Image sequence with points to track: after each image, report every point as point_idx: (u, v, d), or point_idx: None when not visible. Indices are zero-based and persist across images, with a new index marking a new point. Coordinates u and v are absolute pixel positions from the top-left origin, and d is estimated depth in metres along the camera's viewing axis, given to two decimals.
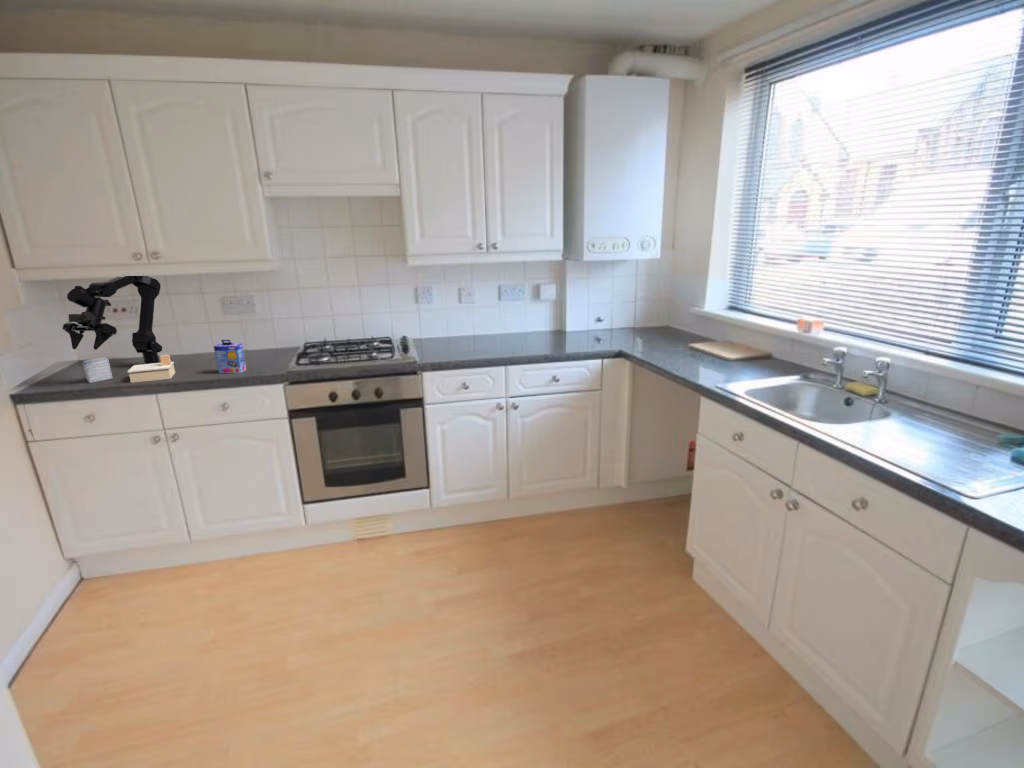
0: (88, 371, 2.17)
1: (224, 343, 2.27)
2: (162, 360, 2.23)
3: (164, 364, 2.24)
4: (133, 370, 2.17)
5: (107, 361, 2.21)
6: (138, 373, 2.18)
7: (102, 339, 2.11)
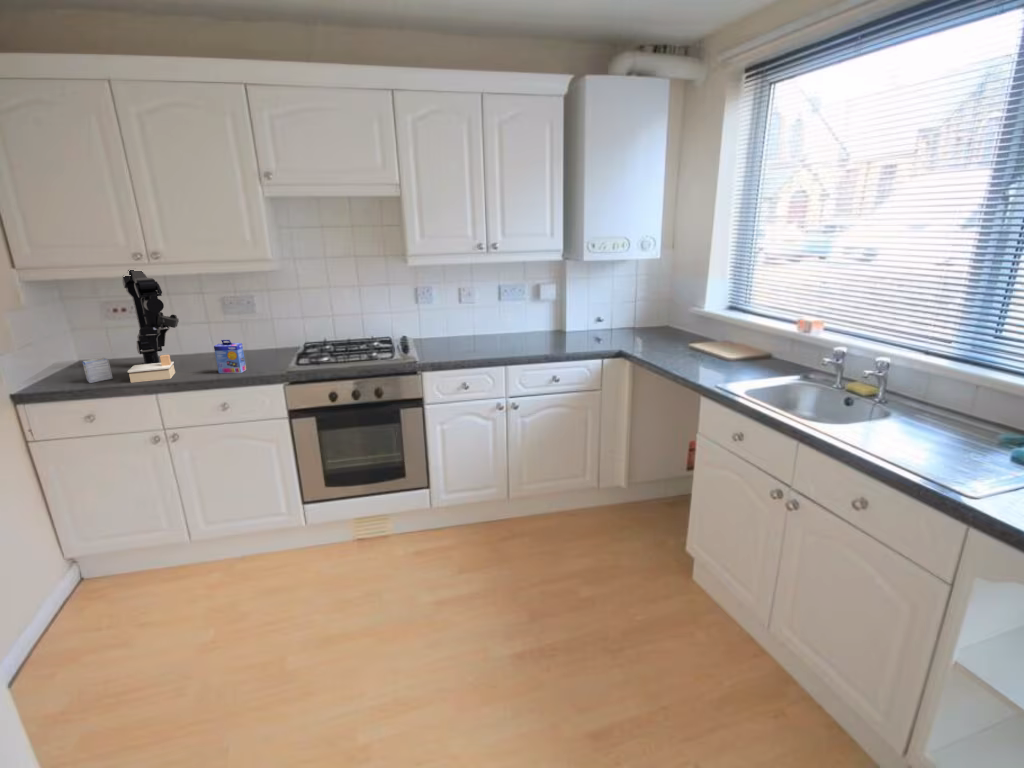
0: (88, 371, 2.17)
1: (224, 343, 2.27)
2: (162, 360, 2.23)
3: (164, 364, 2.24)
4: (133, 370, 2.17)
5: (107, 361, 2.21)
6: (138, 373, 2.18)
7: None
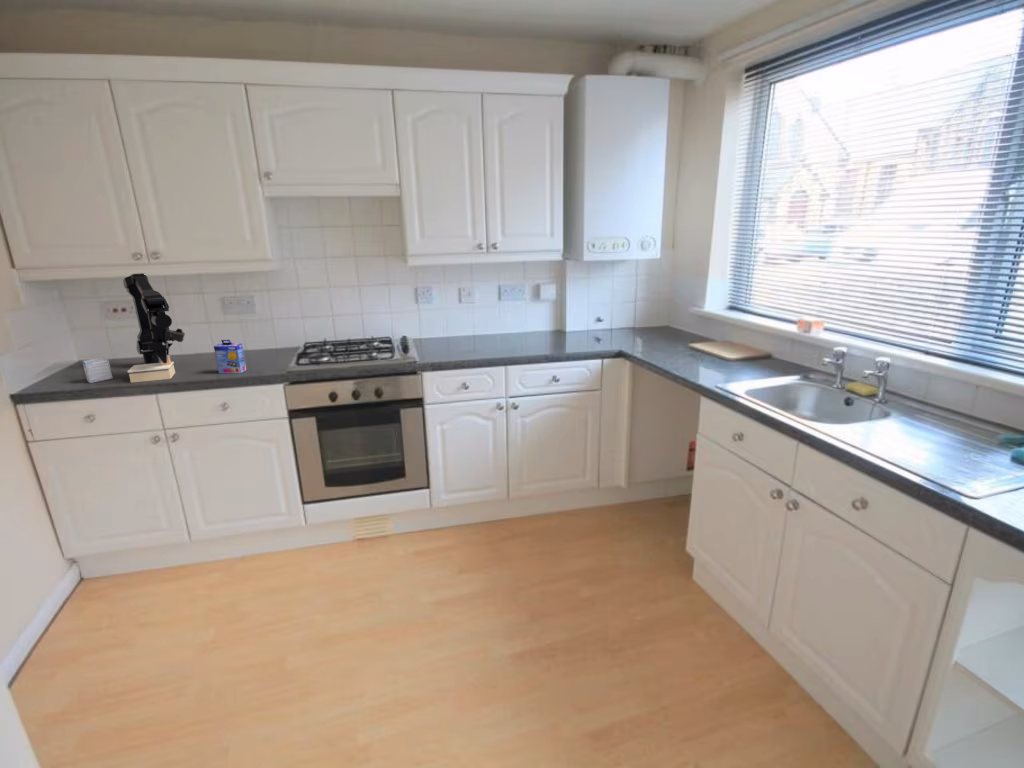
0: (88, 371, 2.17)
1: (224, 343, 2.27)
2: None
3: (164, 364, 2.24)
4: (133, 370, 2.17)
5: (107, 361, 2.21)
6: (138, 373, 2.18)
7: None
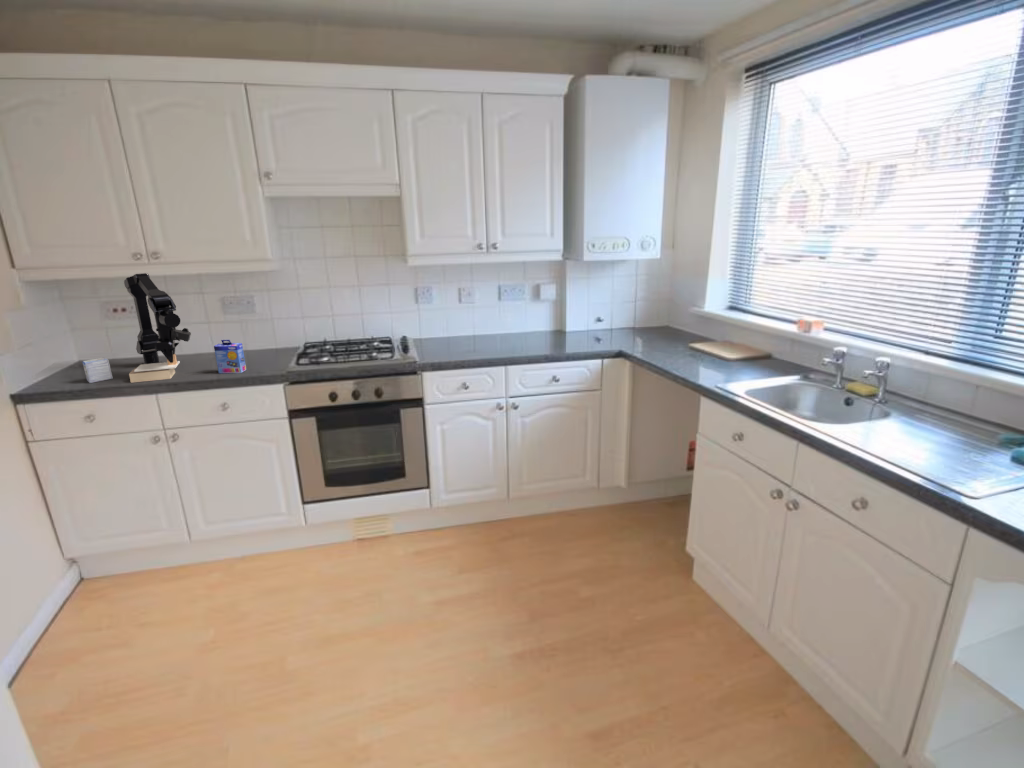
0: (88, 371, 2.17)
1: (224, 343, 2.27)
2: None
3: (170, 363, 2.24)
4: (140, 369, 2.18)
5: (107, 361, 2.21)
6: (138, 373, 2.18)
7: None
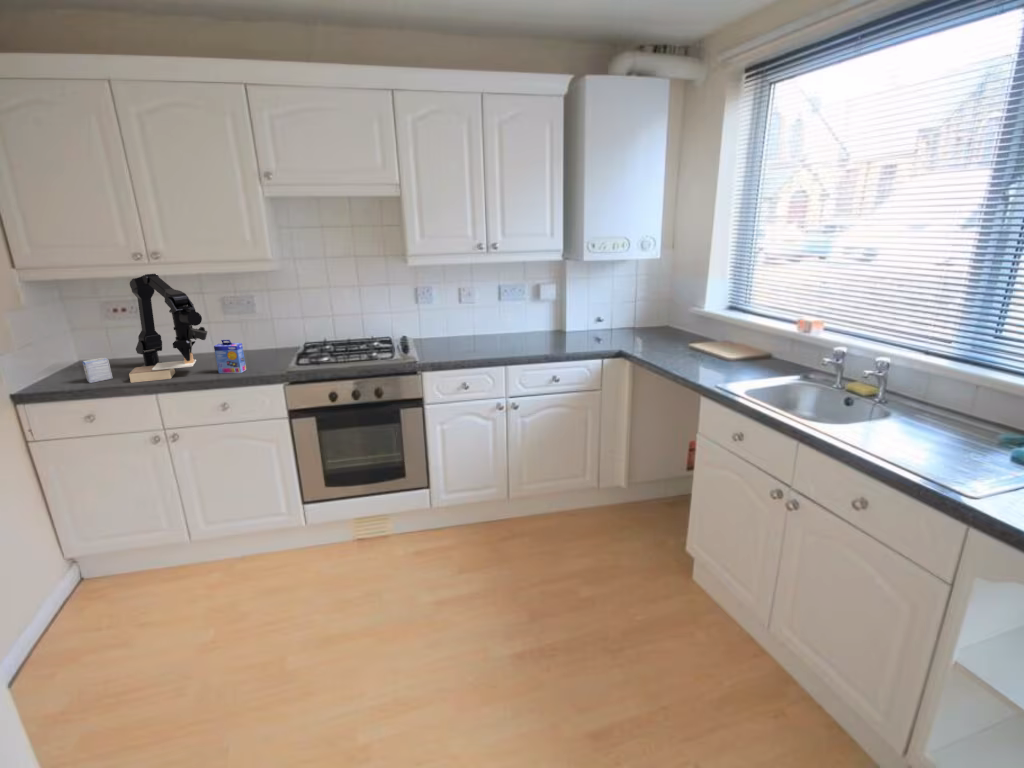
0: (88, 371, 2.17)
1: (224, 343, 2.27)
2: None
3: (187, 362, 2.27)
4: (157, 368, 2.20)
5: (107, 361, 2.21)
6: (138, 373, 2.18)
7: None
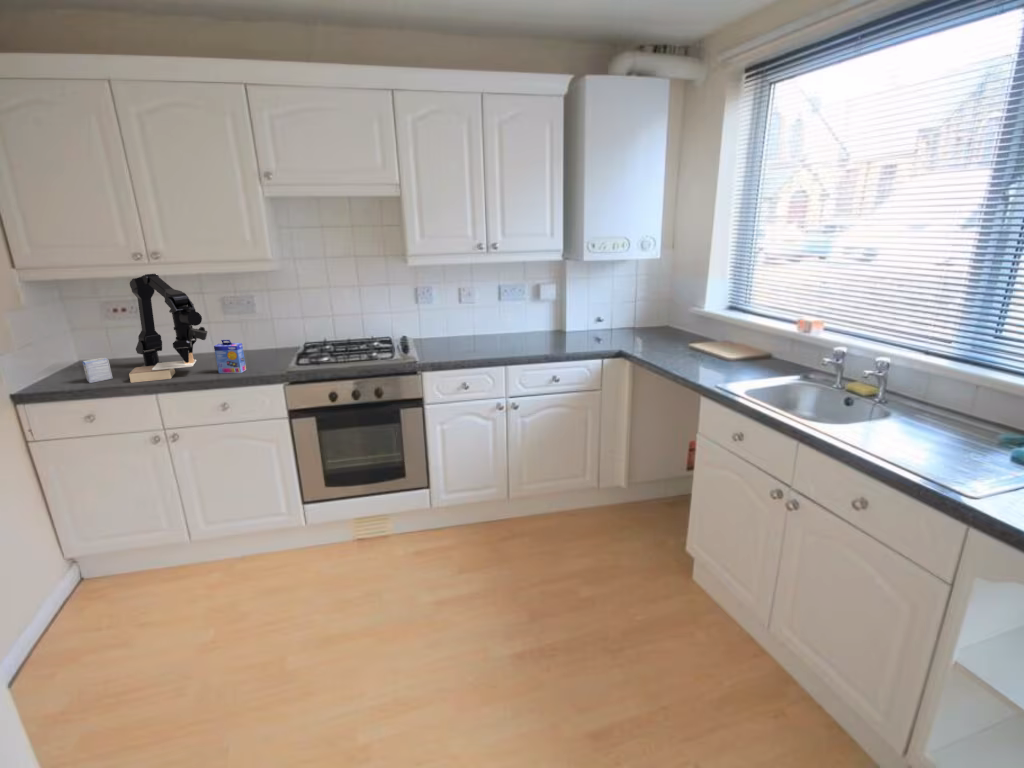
0: (88, 371, 2.17)
1: (224, 343, 2.27)
2: None
3: None
4: (157, 368, 2.20)
5: (107, 361, 2.21)
6: (138, 373, 2.18)
7: None
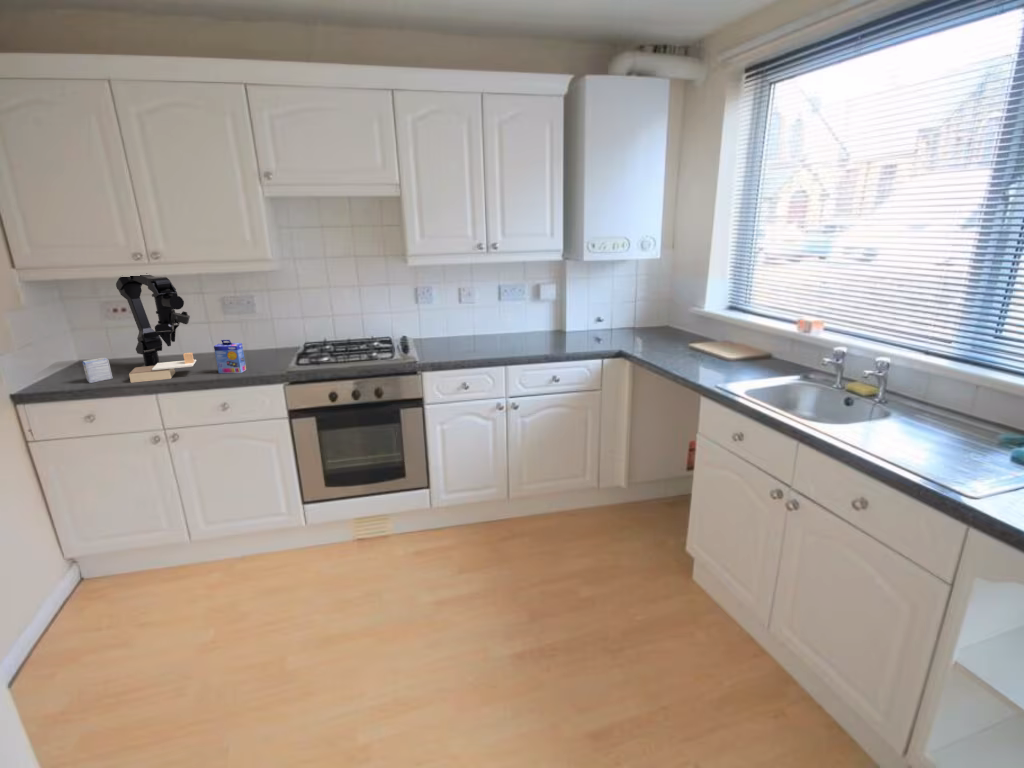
0: (88, 371, 2.17)
1: (224, 343, 2.27)
2: (185, 358, 2.26)
3: (187, 362, 2.27)
4: (157, 368, 2.20)
5: (107, 361, 2.21)
6: (138, 373, 2.18)
7: None
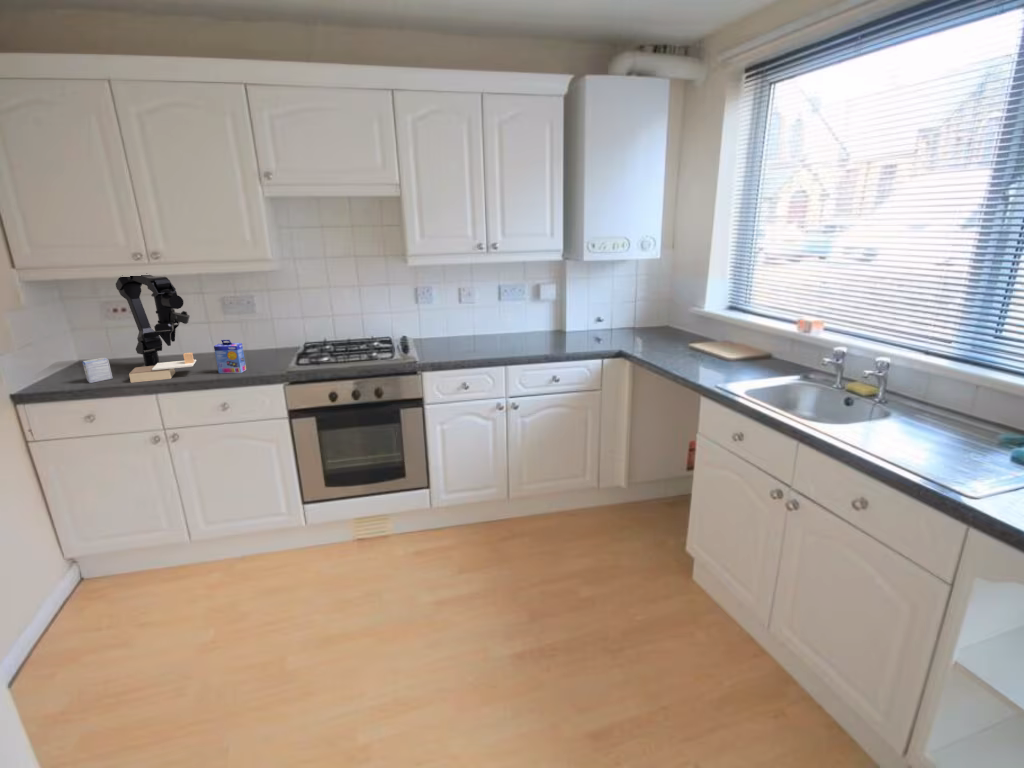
0: (88, 371, 2.17)
1: (224, 343, 2.27)
2: (185, 358, 2.26)
3: (187, 362, 2.27)
4: (157, 368, 2.20)
5: (107, 361, 2.21)
6: (138, 373, 2.18)
7: None
